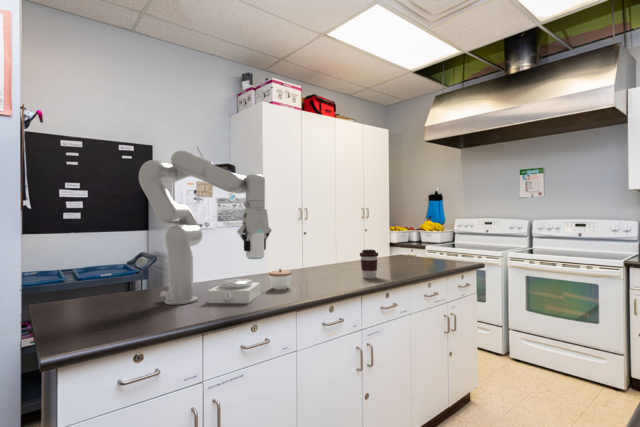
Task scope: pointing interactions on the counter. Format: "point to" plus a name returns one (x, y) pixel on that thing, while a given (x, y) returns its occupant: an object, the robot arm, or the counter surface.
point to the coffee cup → (369, 263)
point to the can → (256, 245)
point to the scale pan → (235, 283)
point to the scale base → (234, 294)
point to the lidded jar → (280, 279)
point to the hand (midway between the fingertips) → (255, 249)
